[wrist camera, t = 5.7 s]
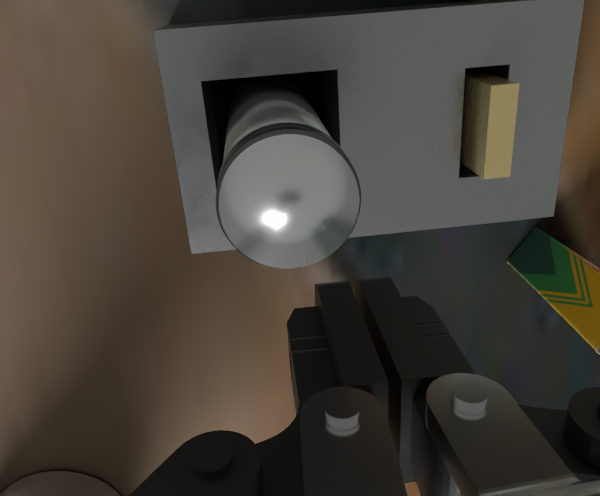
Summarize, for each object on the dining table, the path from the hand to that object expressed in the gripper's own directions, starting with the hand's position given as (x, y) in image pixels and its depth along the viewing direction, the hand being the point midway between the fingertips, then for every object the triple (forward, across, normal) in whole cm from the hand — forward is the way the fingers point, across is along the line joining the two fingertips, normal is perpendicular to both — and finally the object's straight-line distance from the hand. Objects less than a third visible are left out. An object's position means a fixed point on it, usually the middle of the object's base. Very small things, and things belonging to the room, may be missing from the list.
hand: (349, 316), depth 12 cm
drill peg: (+19, +1, -1) cm, 19 cm away
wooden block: (+18, -9, -1) cm, 20 cm away
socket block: (+19, -4, -1) cm, 19 cm away
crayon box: (+19, -17, +10) cm, 27 cm away
